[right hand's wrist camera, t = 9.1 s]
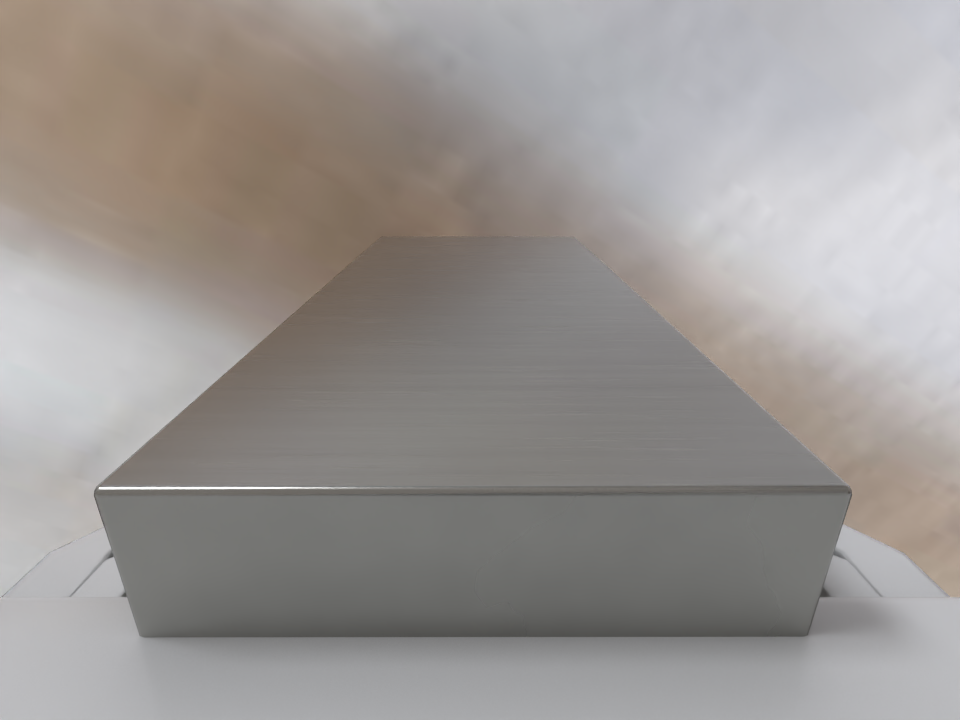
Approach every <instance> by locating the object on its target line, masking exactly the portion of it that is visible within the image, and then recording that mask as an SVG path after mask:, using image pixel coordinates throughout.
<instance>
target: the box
mask: <svg viewBox="0 0 960 720" xmlns="http://www.w3.org/2000/svg"><path fill="white" fill-rule="evenodd" d="M94 497H95V500H96V503H97V506H98V510H99V513H100V516H101V519H102V522H103V525H104V528H105V531H106V534H107V537H108V540H109V543H110V546H111V550H112V553H113V556H114V559H115V562H116V565H117V568H118V571H119V574H120V577H121V580H122V583H123V586H124V589H125V593H126V596H127V599H128V602H129V605H130V608H131V611H132V614H133V617H134V620H135V623H136V626H137V629H138V632H139V636H141V637H144V638H156V637H804V636H807V635H808V633H809V630H810V627H811V624H812V621H813V617H814V614H815V611H816V608H817V605H818V602H819V598H820V595H821V592H822V589H823V586H824V582H825V579H826V576H827V573H828V570H829V567H830V563H831V560H832V557H833V554H834V551H835V547H836V544H837V541H838V538H839V535H840V532H841V528H842V525H843V522H844V519H845V516H846V512H847V509H848V506H849V503H850V500H851V497H852V491H851V488H850V486H849V485H848V484H847V483H845V482H844V481H843V480H842V479H841V478H840V477H839V476H838V475H837V474H835V473H834V472H833V471H832V470H831V469H830V468H829V467H828V466H827V465H826V464H824V463H823V462H822V461H821V460H820V459H819V458H818V457H817V456H816V455H815V454H813V453H812V452H811V451H810V450H809V449H808V448H807V447H806V446H805V445H803V444H802V443H801V442H800V441H799V440H798V439H797V438H796V437H795V436H794V435H792V434H791V433H790V432H789V431H788V430H787V429H786V428H785V427H784V426H782V425H781V424H780V423H779V422H778V421H777V420H776V419H775V418H774V417H773V416H771V415H770V414H769V413H768V412H767V411H766V410H765V409H764V408H763V407H762V406H760V405H759V404H758V403H757V402H756V401H755V400H754V399H753V398H752V397H750V396H749V395H748V394H747V393H746V392H745V391H744V390H743V389H742V388H741V387H739V386H738V385H737V384H736V383H735V382H734V381H733V380H732V379H731V378H730V377H728V376H727V375H726V374H725V373H724V372H723V371H722V370H721V369H720V368H718V367H717V366H716V365H715V364H714V363H713V362H712V361H711V360H710V359H709V358H707V357H706V356H705V355H704V354H703V353H702V352H701V351H700V350H699V349H698V348H696V347H695V346H694V345H693V344H692V343H691V342H690V341H689V340H688V339H686V338H685V337H684V336H683V335H682V334H681V333H680V332H679V331H678V330H677V329H675V328H674V327H673V326H672V325H671V324H670V323H669V322H668V321H667V320H666V319H664V318H663V317H662V316H661V315H660V314H659V313H658V312H657V311H656V310H654V309H653V308H652V307H651V306H650V305H649V304H648V303H647V302H646V301H645V300H643V299H642V298H641V297H640V296H639V295H638V294H637V293H636V292H635V291H634V290H632V289H631V288H630V287H629V286H628V285H627V284H626V283H625V282H624V281H622V280H621V279H620V278H619V277H618V276H617V275H616V274H615V273H614V272H613V271H611V270H610V269H609V268H608V267H607V266H606V265H605V264H604V263H603V262H602V261H600V260H599V259H598V258H597V257H596V256H595V255H594V254H593V253H592V252H590V251H589V250H588V249H587V248H586V247H585V246H584V245H583V244H582V243H581V242H579V241H578V240H577V239H576V238H575V237H380V238H379V239H378V240H377V241H375V242H374V243H373V244H372V245H371V246H370V247H369V248H368V249H366V250H365V251H364V252H363V253H362V254H361V255H360V256H358V257H357V258H356V259H355V260H354V261H353V262H352V263H350V264H349V265H348V266H347V267H346V268H345V269H344V270H343V271H341V272H340V273H339V274H338V275H337V276H336V277H335V278H333V279H332V280H331V281H330V282H329V283H328V284H327V285H325V286H324V287H323V288H322V289H321V290H320V291H319V292H317V293H316V294H315V295H314V296H313V297H312V298H311V299H310V300H308V301H307V302H306V303H305V304H304V305H303V306H302V307H300V308H299V309H298V310H297V311H296V312H295V313H294V314H292V315H291V316H290V317H289V318H288V319H287V320H286V321H284V322H283V323H282V324H281V325H280V326H279V327H278V328H277V329H275V330H274V331H273V332H272V333H271V334H270V335H269V336H267V337H266V338H265V339H264V340H263V341H262V342H261V343H259V344H258V345H257V346H256V347H255V348H254V349H253V350H251V351H250V352H249V353H248V354H247V355H246V356H245V357H244V358H242V359H241V360H240V361H239V362H238V363H237V364H236V365H234V366H233V367H232V368H231V369H230V370H229V371H228V372H226V373H225V374H224V375H223V376H222V377H221V378H220V379H218V380H217V381H216V382H215V383H214V384H213V385H212V386H211V387H209V388H208V389H207V390H206V391H205V392H204V393H203V394H201V395H200V396H199V397H198V398H197V399H196V400H195V401H193V402H192V403H191V404H190V405H189V406H188V407H187V408H185V409H184V410H183V411H182V412H181V413H180V414H179V415H178V416H176V417H175V418H174V419H173V420H172V421H171V422H170V423H168V424H167V425H166V426H165V427H164V428H163V429H162V430H160V431H159V432H158V433H157V434H156V435H155V436H154V437H153V438H151V439H150V440H149V441H148V442H147V443H146V444H145V445H143V446H142V447H141V448H140V449H139V450H138V451H137V452H135V453H134V454H133V455H132V456H131V457H130V458H129V459H127V460H126V461H125V462H124V463H123V464H122V465H121V466H120V467H118V468H117V469H116V470H115V471H114V472H113V473H112V474H110V475H109V476H108V477H107V478H106V479H105V480H104V481H102V482H101V483H100V484H99V485H98V486H97V487H96V489H95V491H94Z"/></svg>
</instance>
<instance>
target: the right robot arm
mask: <svg viewBox="0 0 960 720" xmlns="http://www.w3.org/2000/svg"><path fill="white" fill-rule="evenodd" d="M0 720H960V597H950V596H949V595H948V594H947V593H945V592H944V591H943V590H942V589H941V588H940V587H939V586H938V585H937V584H936V583H935V582H934V581H933V580H932V579H931V578H930V577H929V576H928V575H927V574H925V573H924V572H923V571H922V570H921V569H920V568H919V567H918V566H917V565H916V564H915V563H914V562H913V561H912V560H911V559H910V558H909V557H908V556H907V555H905V554H904V553H903V552H901V551H899V550H896V549H894V548H892V547H890V546H888V545H886V544H884V543H882V542H880V541H878V540H875V539H873V538H871V537H869V536H867V535H865V534H863V533H861V532H859V531H857V530H854V529H852V528H850V527H848V526H846V525H844V524H843V525H842V528H841V532H840V535H839V538H838V541H837V544H836V547H835V551H834V554H833V557H832V560H831V563H830V567H829V570H828V573H827V576H826V579H825V582H824V586H823V589H822V592H821V595H820V598H819V602H818V605H817V608H816V611H815V614H814V617H813V621H812V624H811V627H810V630H809V633H808V635H807V636H804V637H156V638H144V637H141V636H139V632H138V629H137V626H136V623H135V620H134V617H133V614H132V611H131V608H130V605H129V602H128V599H127V596H126V593H125V589H124V586H123V583H122V580H121V577H120V574H119V571H118V568H117V565H116V562H115V559H114V556H113V553H112V550H111V546H110V543H109V540H108V537H107V534H106V531H105V528H104V527H103V528H101V529H99V530H96V531H94V532H92V533H90V534H88V535H86V536H84V537H81V538H79V539H77V540H75V541H73V542H71V543H69V544H67V545H64V546H62V547H60V548H58V549H56V550H54V551H52V552H50V553H49V554H48V555H47V556H45V557H44V558H43V559H42V560H41V561H40V562H39V563H38V564H37V565H36V566H35V567H34V568H33V569H31V570H30V571H29V572H28V573H27V574H26V575H25V576H24V577H23V578H22V579H21V580H20V581H19V582H17V583H16V584H15V585H14V586H13V587H12V588H11V589H10V590H9V591H8V592H7V593H6V594H5V595H3V596H2V597H0Z"/></svg>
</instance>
